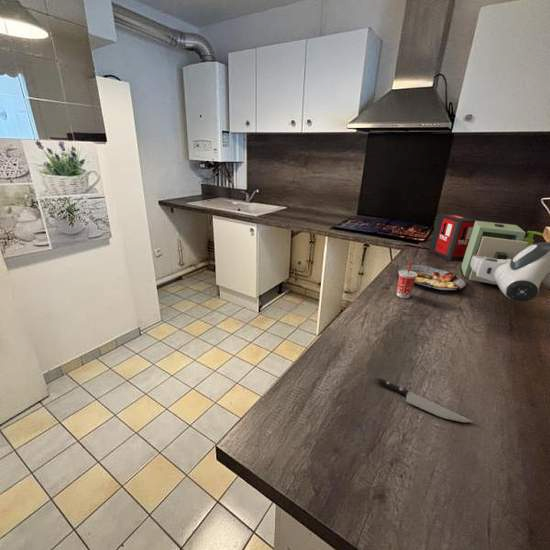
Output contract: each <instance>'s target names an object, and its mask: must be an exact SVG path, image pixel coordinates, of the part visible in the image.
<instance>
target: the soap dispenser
mask: <svg viewBox="0 0 550 550" xmlns="http://www.w3.org/2000/svg"><path fill="white" fill-rule="evenodd" d="M526 233H527V234H528V235H527V237H524V239H523V241H524V242H528V244H527V246H528V245H531V244H534V242H535V239H534V235H539V236H545V233H542V232H539V231H535V230H534V231H533V230H528V231H527V232H526Z"/></svg>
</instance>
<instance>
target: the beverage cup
mask: <svg viewBox="0 0 550 550" xmlns="http://www.w3.org/2000/svg"><path fill="white" fill-rule="evenodd" d="M412 262H413V260H412V259H410V261H409V269H408V270H400V271H399V273H398V281H397V289H396V296H397V297H399V298H401V299H409V298H411V294H412V291H413V288H414V285H415V283H414V282H415V279H416V278H417V273H415V272H413V271H410V267H411V265H412Z"/></svg>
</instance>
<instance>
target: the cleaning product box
mask: <svg viewBox="0 0 550 550" xmlns="http://www.w3.org/2000/svg"><path fill="white" fill-rule="evenodd" d="M475 221H478V220H476V219H473V218H471V217H466V216H463V215H459V214H456V213H438V214H437V217H436V220H435V224H434V228H433V232H432V236H431V239H430V242H429V243H430V244H429V247H428V251H429V252H432V253H434V254H435V255H438V256H440V257H442V258H444V259H446V260H448V261H451V262H454V261H463V259H464V256H465V253H466V250H467V247H468V243H469V240H470V237H471V234H472V230H473V227H474V224H475Z"/></svg>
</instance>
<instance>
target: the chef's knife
mask: <svg viewBox="0 0 550 550" xmlns="http://www.w3.org/2000/svg"><path fill="white" fill-rule="evenodd" d="M376 381H377V383H378V384H380V385H384V386H386V387H389V388H391V389H393V390H395V391H397V392H398V393H401V394H403V395H405V397H406V403H408V404H411V405H412V406H415V407H417V408H419V409H421V410H424V411H426V412H428V413H431V414H433V415H435V416H436V417H440V418H443V419H446V420H450V421H456V422H461V423H474V421H473V420H472V419H469V418H467V417H465V416H463V415H461V414H459V413H457V412H455V411H452V410H451V409H449V408H446V407H444V406H442V405H439V404H437V403H436V402H433V401H431V400H429V399H427V398H424V397H422V396H420V395H418V394H415V393H414V392H411V391H409V390H407V389H405V388H403V387H401V386H398V385H396V384H393V383H391V382H390V381H388V380H385V379H383V378H380V377H376Z"/></svg>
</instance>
